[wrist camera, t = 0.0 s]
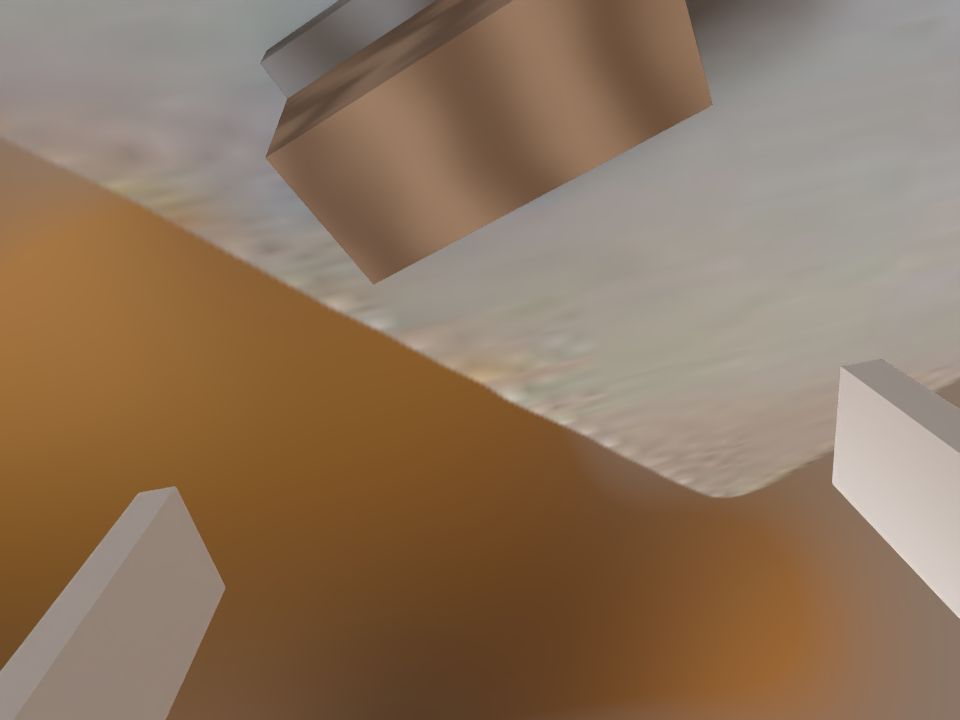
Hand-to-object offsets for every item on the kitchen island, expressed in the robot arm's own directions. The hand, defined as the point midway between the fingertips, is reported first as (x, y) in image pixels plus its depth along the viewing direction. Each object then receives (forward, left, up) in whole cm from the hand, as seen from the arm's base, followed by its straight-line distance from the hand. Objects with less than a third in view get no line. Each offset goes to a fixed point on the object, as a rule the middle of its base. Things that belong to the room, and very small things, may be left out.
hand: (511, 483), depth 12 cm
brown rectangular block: (0, +2, -28) cm, 28 cm away
